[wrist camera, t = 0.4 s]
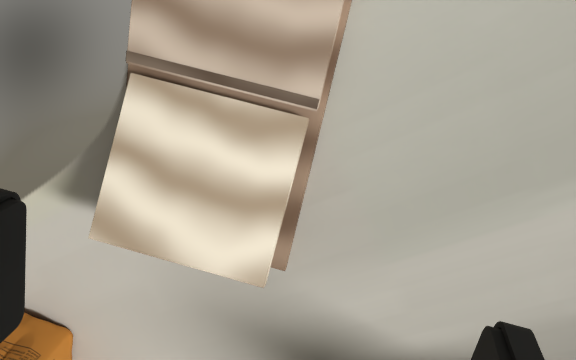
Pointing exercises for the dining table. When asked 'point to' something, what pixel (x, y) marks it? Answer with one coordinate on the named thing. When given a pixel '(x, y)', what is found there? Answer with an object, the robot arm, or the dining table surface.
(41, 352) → the coffee package
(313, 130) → the floor board
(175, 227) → the ash plank
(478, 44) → the dining table surface
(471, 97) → the dining table surface
